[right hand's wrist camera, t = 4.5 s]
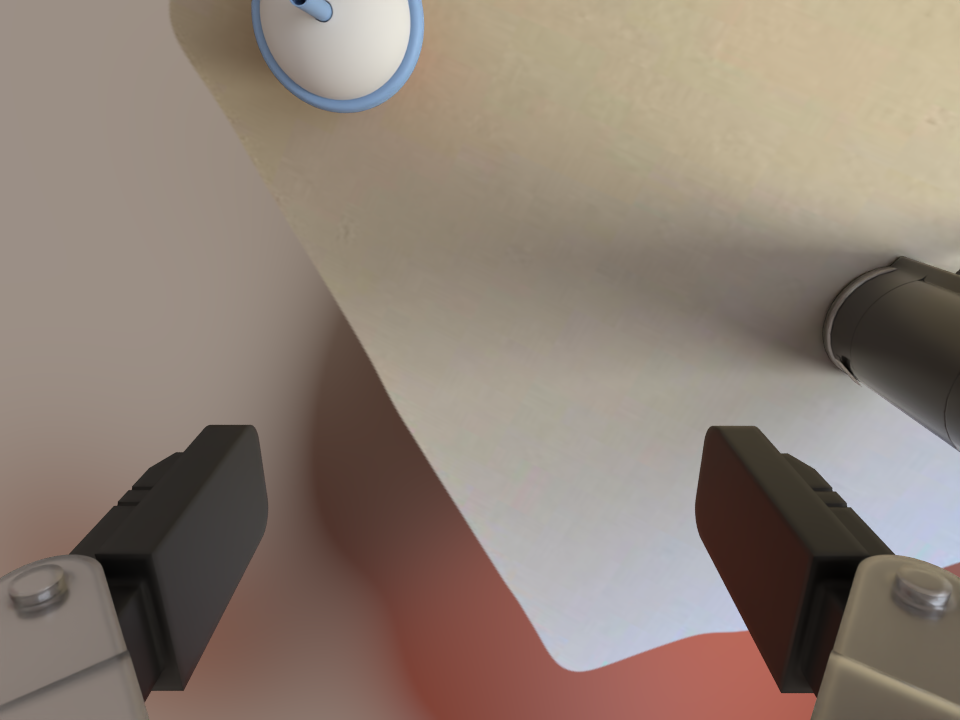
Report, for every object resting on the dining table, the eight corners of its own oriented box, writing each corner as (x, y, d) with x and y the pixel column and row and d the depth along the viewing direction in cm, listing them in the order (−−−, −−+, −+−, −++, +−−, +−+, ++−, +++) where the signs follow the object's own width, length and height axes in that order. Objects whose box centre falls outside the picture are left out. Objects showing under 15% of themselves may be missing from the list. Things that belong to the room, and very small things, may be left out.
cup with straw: (275, 44, 43) (143, -1, 26) (360, -70, 40) (275, -201, 24) (377, 141, 45) (316, 157, 28) (463, 38, 43) (453, -10, 26)
